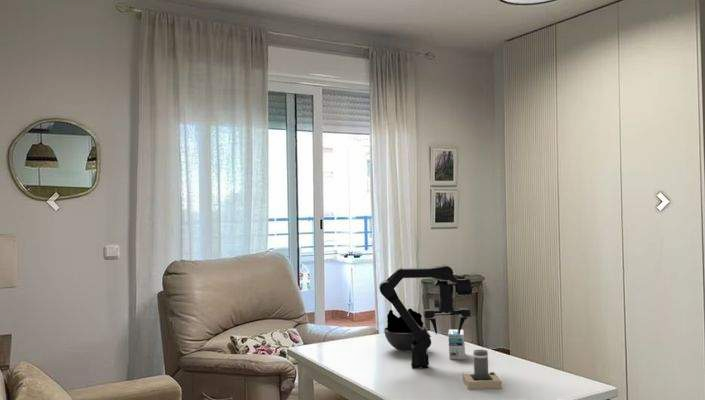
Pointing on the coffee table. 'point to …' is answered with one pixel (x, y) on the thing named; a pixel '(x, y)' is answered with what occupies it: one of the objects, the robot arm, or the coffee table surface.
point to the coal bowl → (401, 330)
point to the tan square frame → (482, 381)
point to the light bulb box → (456, 344)
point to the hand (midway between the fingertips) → (447, 333)
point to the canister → (480, 365)
